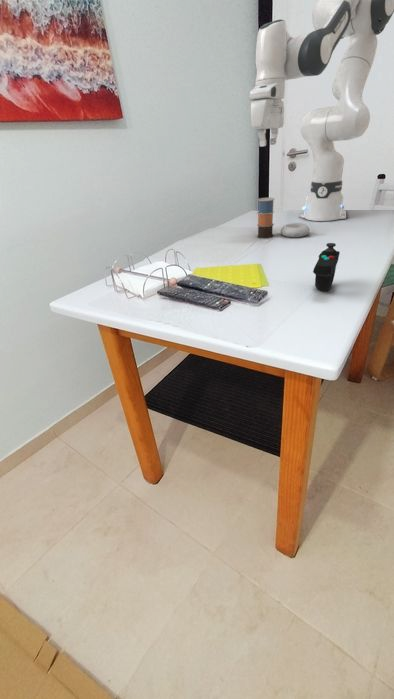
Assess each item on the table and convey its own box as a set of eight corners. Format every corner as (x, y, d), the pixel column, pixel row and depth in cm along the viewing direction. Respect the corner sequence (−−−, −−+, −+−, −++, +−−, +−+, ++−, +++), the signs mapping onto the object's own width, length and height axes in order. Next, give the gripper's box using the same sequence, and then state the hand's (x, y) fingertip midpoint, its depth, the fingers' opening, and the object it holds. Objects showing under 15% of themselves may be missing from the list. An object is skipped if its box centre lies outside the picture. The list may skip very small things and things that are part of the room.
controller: (336, 281, 84) (342, 241, 78) (328, 301, 75) (334, 257, 69) (318, 280, 85) (323, 240, 80) (308, 299, 76) (313, 255, 71)
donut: (281, 239, 121) (310, 238, 119) (281, 229, 119) (311, 228, 117) (280, 232, 129) (308, 231, 127) (281, 223, 127) (308, 221, 125)
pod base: (260, 233, 129) (260, 222, 127) (275, 234, 126) (275, 222, 124) (254, 237, 125) (255, 225, 123) (269, 238, 122) (270, 226, 120)
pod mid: (260, 222, 127) (260, 210, 124) (275, 222, 124) (276, 210, 122) (254, 225, 123) (254, 213, 120) (270, 226, 120) (270, 213, 118)
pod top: (261, 210, 124) (261, 197, 122) (276, 210, 122) (276, 197, 119) (255, 213, 120) (255, 200, 118) (270, 213, 118) (271, 200, 115)
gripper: (271, 95, 112) (269, 144, 119) (247, 92, 97) (246, 148, 104) (290, 93, 109) (287, 143, 116) (268, 89, 94) (266, 146, 102)
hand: (267, 145), depth 110 cm, fingers open, 8 cm apart
